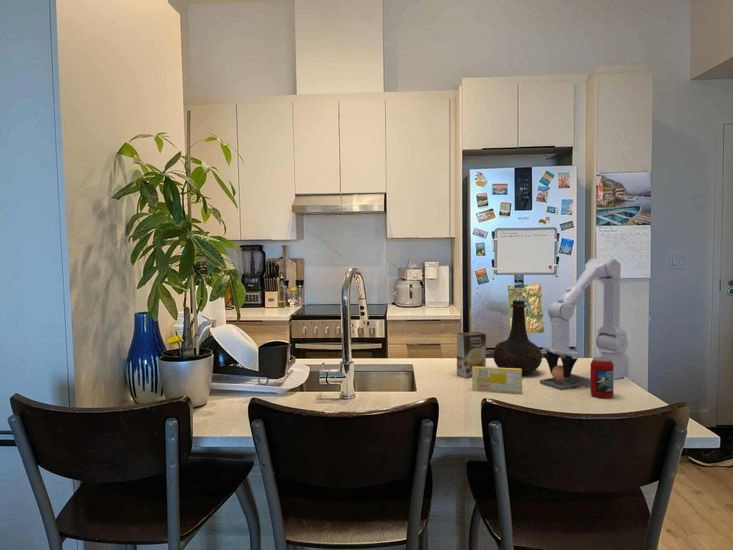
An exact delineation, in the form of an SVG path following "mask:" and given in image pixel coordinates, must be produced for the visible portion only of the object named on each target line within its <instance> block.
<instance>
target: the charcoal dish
mask: <svg viewBox="0 0 733 550" xmlns="http://www.w3.org/2000/svg"><path fill="white" fill-rule="evenodd" d="M540 383H541V385H544V386H547V385H548V387H550V386H551V388H553V387H554V389H557V390H560V389H561V390H560V391H564V389H565V390H570V389H569V388H571V389H574V387H576V388H580V387H579V386H581V383H579V382H575V381H572V380H568V379H566V380H564V381H557V380H555V379H554V378H553V377H551V378H549V377H548V378H544V379H539V384H540ZM581 387H582V386H581Z"/></svg>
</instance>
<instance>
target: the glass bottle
mask: <svg viewBox="0 0 733 550" xmlns="http://www.w3.org/2000/svg"><path fill="white" fill-rule="evenodd" d="M527 306H528V305H526V304H525V300H516V299H515V300H512V304H510V307H511V308H512V314H511V326H510V331H509V332H510V333H509V336H508V338H507V339H506V340H504V341H500V342H498V343H497V344H496V345H495V347H494V349H493V353H492V354H493V355H492V356H493V361H494V363H495V365H496V366H497V368H517V369H522V376H527V375H530V374H532V373H535V371H537V370H538V368H540V366H541V364H542V361H543V355H542V351H541V349H540V347H538V345H537V344H535V343H533V342H532V341H530V339H529V337H528V333H527V326H526V315H525V314H526V313H525V310H526V309H525V308H527Z"/></svg>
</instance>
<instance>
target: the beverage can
mask: <svg viewBox="0 0 733 550" xmlns="http://www.w3.org/2000/svg"><path fill="white" fill-rule="evenodd" d="M589 378H590V388H589V390H590V394H591V395H593V396H594V397H595V396H596V398H599V397H602V398H601V399H608V398H607V397H609V398H611V397H613V395H614V383H615V382H614V380H615V379H614V365H613V363H612V361H611V359H609V358H603V357H601V356H599V357H593V358H592V360H591V361H590V377H589Z"/></svg>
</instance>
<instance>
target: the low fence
mask: <svg viewBox="0 0 733 550" xmlns="http://www.w3.org/2000/svg"><path fill="white" fill-rule="evenodd" d="M567 379H568V380H572V381H575V382H579V383H581V385H582V386H581V387H584V386H586V387H585V388H587V387H589V388H588V389H590V377H587V376H586V377H585V376H581V375H577V374H575V373H571V375H570V377H569V378H567Z"/></svg>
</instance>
